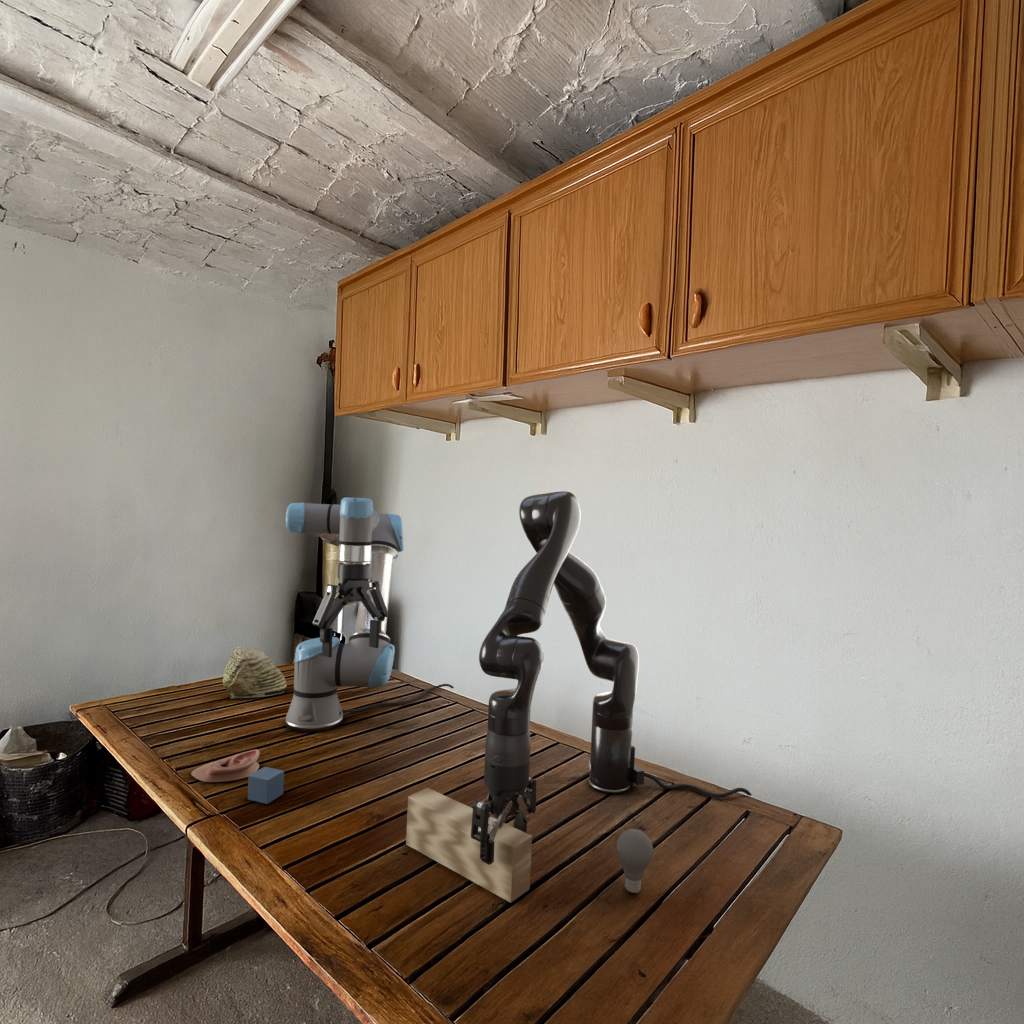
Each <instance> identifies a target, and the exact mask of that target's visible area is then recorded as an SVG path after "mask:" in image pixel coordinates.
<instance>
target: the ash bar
mask: <svg viewBox="0 0 1024 1024" xmlns="http://www.w3.org/2000/svg"><path fill="white" fill-rule="evenodd" d="M406 813H407V815H406V837H405V838H406V839H405V845H406V846H408V847H410V848H411V849H413V850H414V851H416V852H419V853H420V854H422V855H424V856H426V857H428V858H429V859H431V860H433V861H435V862H437V863H439V864H440V865H442V866H443V867H446V868H447V869H449V870H451V871H453V872H454V873H456V874H458V875H460V876H462V877H463V878H465V879H467V880H469V881H470V882H472V883H474V884H476V885H478V886H479V887H481V888H482V889H485V890H487V891H488V892H491V893H492V894H494V895H496V896H497V897H499V898H501V899H503V900H505V901H506V902H508V903H510V904H513V902H515V901H516V900H517V899H518V898H520V897H521V896H522V895H524V894H525V893H527V892H528V891H530V889H531V872H532V871H531V867H532V865H531V864H532V850H533V849H532V848H533V847H532V845H533V844H532V843H533V835H532V834H530V833H528V832H527V833H525V832H523V831H521V830H518V829H516V828H514V826H512V825H510V824H507V823H505V822H504V823H503V826H502V828H501V829H499V830H498V831H497V833H496V836H495V838H494V841H495V843H494V862H493V863H492V864H490V865H488V864H486V863H484V862H483V861H482V860H481V859H480V842H479V841H477V840H475V839H473V838H471V827H472V814H473V807H471V806H468V805H466V804H464V803H462V802H459V801H457V800H455V799H453V798H451V797H448V796H446V795H444V794H442V793H440V792H438V791H435V790H434V789H432V788H429V787H426V788H424V789H422V790H419V791H418V792H415V793H412V794H411V795H409V796H407V812H406ZM490 819H491V820H493V821H497V820H498V818H495V817H493V816H490ZM491 828H492V826H491V825H489V826H488V833H490V831H491ZM478 831H480V827H478Z"/></svg>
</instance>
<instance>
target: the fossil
mask: <svg viewBox="0 0 1024 1024" xmlns="http://www.w3.org/2000/svg"><path fill="white" fill-rule="evenodd" d="M222 676H223V677H222V685H223V687H224V688H225V690H226V691H228V693H229V698H230V699H250V698H264V697H271V696H275V695H281V694H284V693H285V691H286V689H287V687H288V686H287V680H286V678H285V676H284V674H283V673H282V672H281V669H279V668H278V667H277V665H276V663H275V662H274V660H273V659H272V658H271V657H270V656H269V655H268V654H267V653H266V652H265V650H264V649H263V648H260V647H258V648H251V647H247V646H246V647H245V646H238V647H237V648H236V649H235V650H233V651H232V653H231V656H230V657H229V659H228V660H227V663H226V666H225V668H224V671H223V675H222Z"/></svg>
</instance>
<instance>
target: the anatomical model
mask: <svg viewBox="0 0 1024 1024" xmlns="http://www.w3.org/2000/svg"><path fill="white" fill-rule="evenodd" d="M260 754H261V752H260V749H257V748H256V749H251V750H247V751H243V752H240V753H236V754H234V755H231V756H228V757H225V758H222V759H219V760H216V761H211V762H209V763H206V764H204V765H201V766H198V767H197V768H195V769H193V770H192V771H191V773H190V775H191V776H192V777H193V778H194V779H196V780H198V781H201V782H203V783H221V782H230V781H231V782H233V781H237V780H241V779H246V778H248V777H249V775H251V774H253V773H254V772H256V771H258V770H260V769H259V768H260V764H259V762H258V759H259V757H260Z"/></svg>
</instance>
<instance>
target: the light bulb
mask: <svg viewBox="0 0 1024 1024" xmlns="http://www.w3.org/2000/svg"><path fill="white" fill-rule="evenodd" d="M615 849H616V854H617V857H618V859H619V861H620V863H621V865H622V867H623V873H624V874H623V875H624V876H625V878H624V888H625V890H627V891H628V892H630V893H634V894H635V893H639V892H640V891H641V889H642V887H641V886H642V879H643V877H644V875H645V871H646V868H647V867H648V866H649V864H650V863H651V861H652V859H653V855H654V847H653V843H652V841H651V838H649V836H648V835H647V834H646V833H645V832H643V831H642V830H641V829H636V828H629V829H627V830H625V831H623V832H622V833H621V834H620V835H619V837H618V839H617V841H616V847H615Z"/></svg>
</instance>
